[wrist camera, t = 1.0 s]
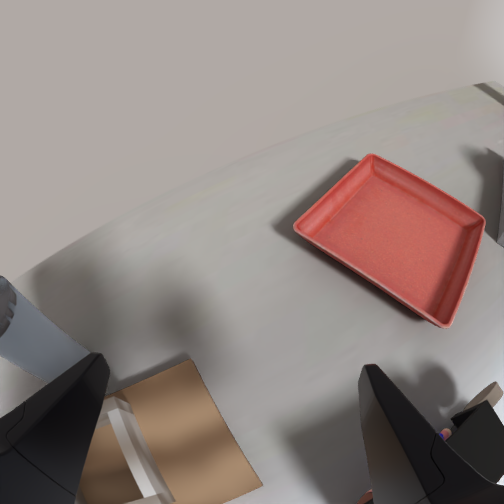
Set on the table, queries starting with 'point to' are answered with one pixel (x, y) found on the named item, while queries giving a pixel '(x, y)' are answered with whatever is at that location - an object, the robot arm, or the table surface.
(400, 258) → the plant saucer
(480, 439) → the figurine character
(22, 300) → the blue-grey cylinder
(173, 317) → the table surface
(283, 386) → the table surface
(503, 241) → the tray
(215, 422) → the jig
